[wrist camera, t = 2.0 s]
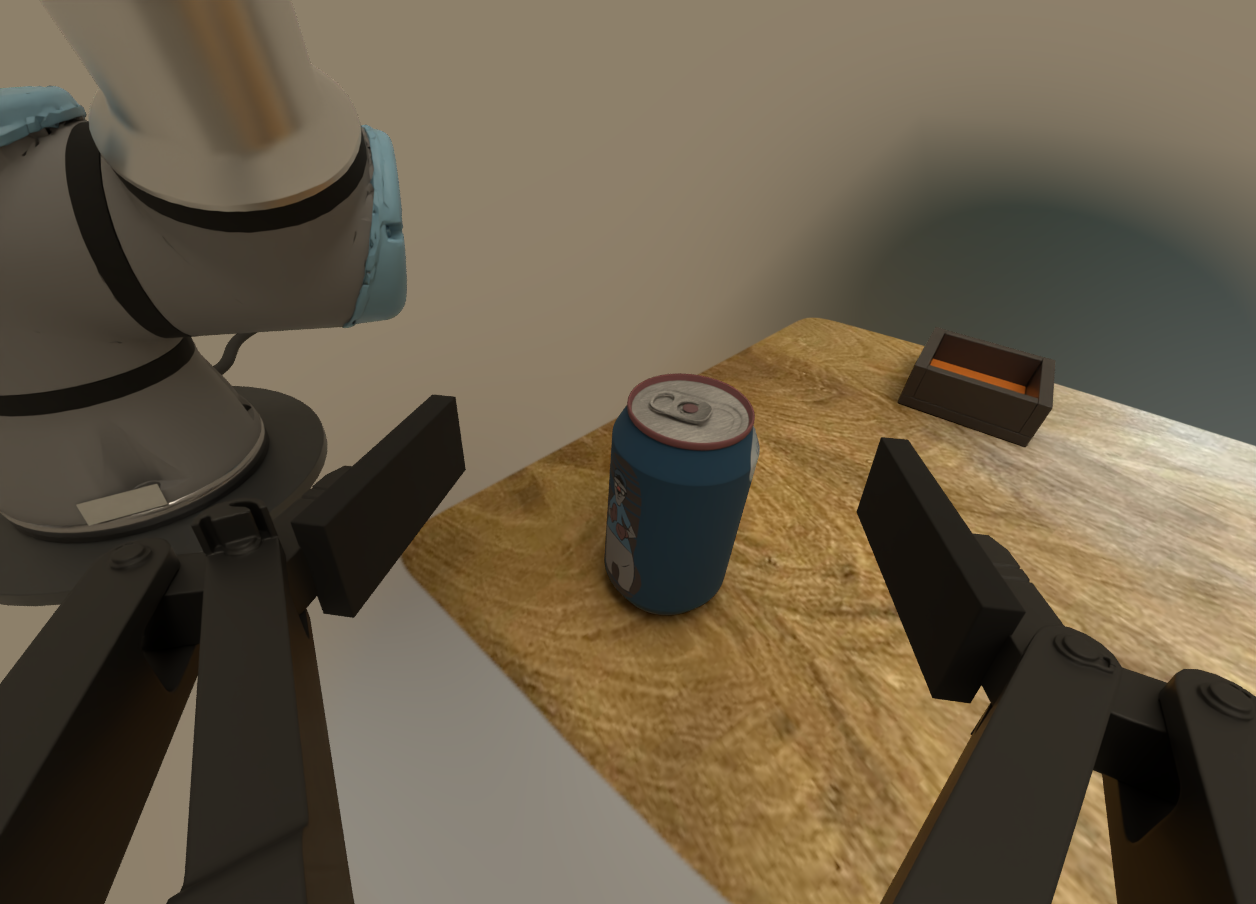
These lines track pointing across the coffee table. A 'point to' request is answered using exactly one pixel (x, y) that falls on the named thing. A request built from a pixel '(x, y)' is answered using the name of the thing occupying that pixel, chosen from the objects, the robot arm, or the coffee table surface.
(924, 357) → the square wooden tray
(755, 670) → the coffee table surface
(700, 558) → the soda can
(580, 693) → the coffee table surface
